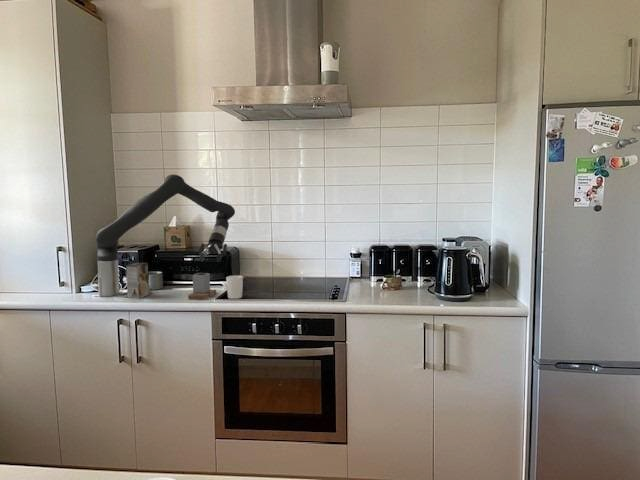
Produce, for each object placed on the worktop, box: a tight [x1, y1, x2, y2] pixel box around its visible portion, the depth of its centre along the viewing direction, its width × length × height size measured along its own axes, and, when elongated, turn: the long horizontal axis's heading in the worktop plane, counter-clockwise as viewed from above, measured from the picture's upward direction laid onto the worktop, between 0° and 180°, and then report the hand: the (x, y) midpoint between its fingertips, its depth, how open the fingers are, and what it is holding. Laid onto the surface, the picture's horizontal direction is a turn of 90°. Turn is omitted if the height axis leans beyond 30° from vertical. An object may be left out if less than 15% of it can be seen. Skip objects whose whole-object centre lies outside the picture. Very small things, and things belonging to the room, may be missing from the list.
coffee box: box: [125, 262, 150, 300], centre depth 219 cm, size 9×6×16 cm
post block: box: [187, 288, 217, 301], centre depth 219 cm, size 14×8×6 cm, turn 170°
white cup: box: [225, 275, 244, 300], centre depth 217 cm, size 8×8×10 cm
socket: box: [192, 272, 211, 294], centre depth 219 cm, size 6×6×9 cm
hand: (209, 261), depth 226 cm, fingers open, 8 cm apart
